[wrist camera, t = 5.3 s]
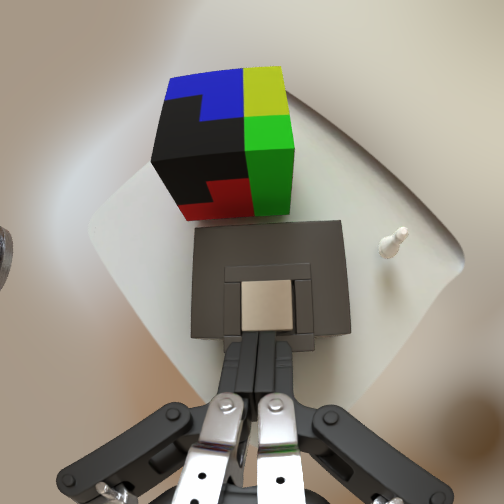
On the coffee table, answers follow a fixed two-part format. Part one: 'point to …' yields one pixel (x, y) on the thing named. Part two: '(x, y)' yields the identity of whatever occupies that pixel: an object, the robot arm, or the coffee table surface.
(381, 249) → the chess pawn
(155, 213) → the coffee table surface
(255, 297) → the beige push button
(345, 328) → the dark grey block
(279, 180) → the puzzle toy
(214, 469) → the robot arm
